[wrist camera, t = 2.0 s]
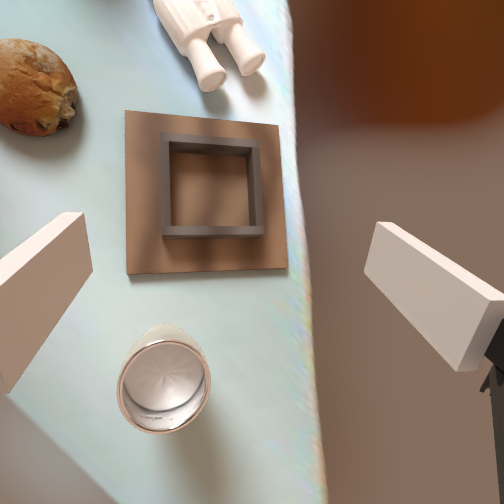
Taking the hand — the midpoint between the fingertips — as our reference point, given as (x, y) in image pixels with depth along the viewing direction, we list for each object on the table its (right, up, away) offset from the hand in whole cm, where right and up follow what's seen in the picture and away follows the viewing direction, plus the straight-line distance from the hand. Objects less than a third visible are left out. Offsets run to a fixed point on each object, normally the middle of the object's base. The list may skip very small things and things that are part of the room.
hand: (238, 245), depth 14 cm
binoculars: (-7, +30, +29) cm, 42 cm away
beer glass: (-10, -12, +23) cm, 27 cm away
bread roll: (-25, +17, +22) cm, 38 cm away
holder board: (-5, +7, +26) cm, 28 cm away
